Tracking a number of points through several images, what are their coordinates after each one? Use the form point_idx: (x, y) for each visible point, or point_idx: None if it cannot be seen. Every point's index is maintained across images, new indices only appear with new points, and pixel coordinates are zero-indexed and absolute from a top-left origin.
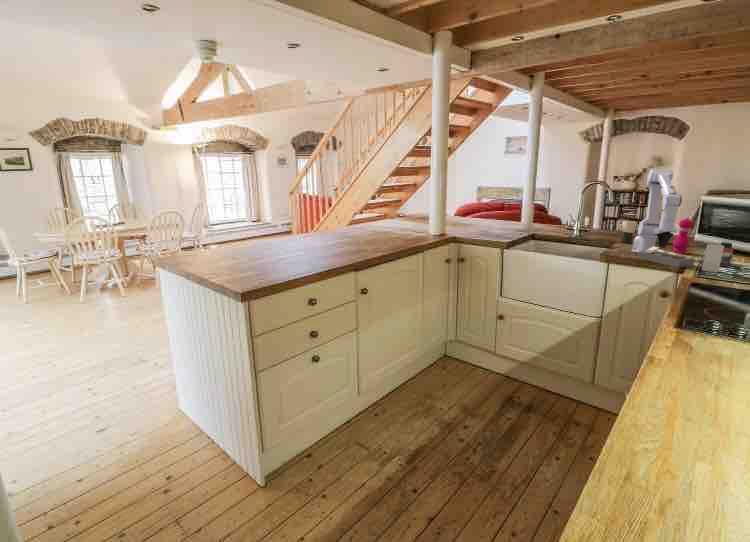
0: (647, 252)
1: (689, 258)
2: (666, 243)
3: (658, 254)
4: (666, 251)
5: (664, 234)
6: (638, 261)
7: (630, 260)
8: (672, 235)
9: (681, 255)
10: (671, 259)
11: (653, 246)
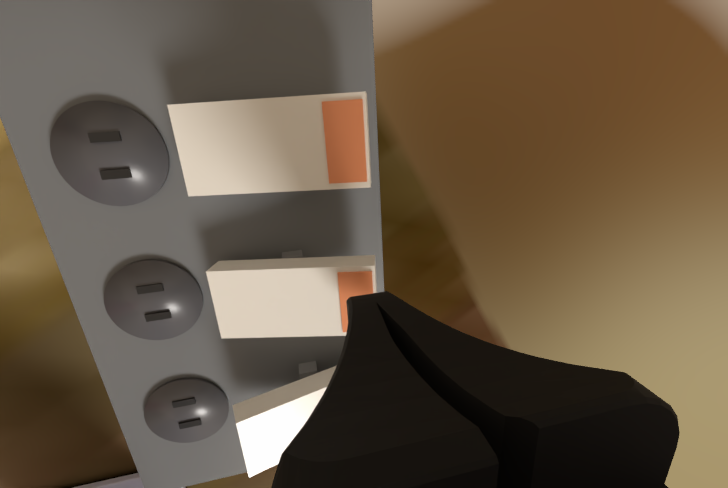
0: None
1: (76, 33)
2: (374, 319)
3: None
4: (300, 268)
5: (661, 465)
6: (470, 305)
7: (495, 338)
8: (330, 441)
9: (186, 104)
10: (375, 114)
11: (254, 473)
